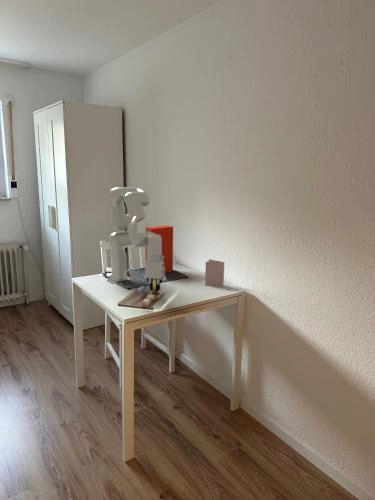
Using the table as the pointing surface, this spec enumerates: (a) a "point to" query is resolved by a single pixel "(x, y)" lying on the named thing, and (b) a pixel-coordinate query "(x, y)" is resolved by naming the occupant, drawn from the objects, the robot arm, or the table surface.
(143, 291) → the bracket
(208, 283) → the greeting card
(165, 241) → the file binder
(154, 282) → the pin
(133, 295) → the base plate
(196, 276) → the table surface
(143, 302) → the link
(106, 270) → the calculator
